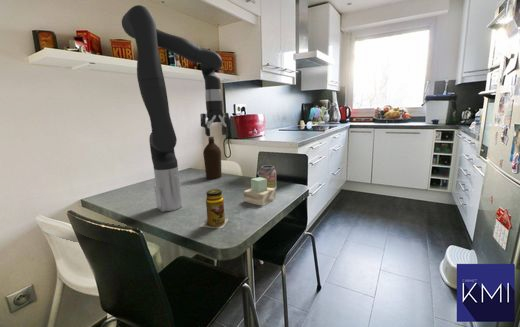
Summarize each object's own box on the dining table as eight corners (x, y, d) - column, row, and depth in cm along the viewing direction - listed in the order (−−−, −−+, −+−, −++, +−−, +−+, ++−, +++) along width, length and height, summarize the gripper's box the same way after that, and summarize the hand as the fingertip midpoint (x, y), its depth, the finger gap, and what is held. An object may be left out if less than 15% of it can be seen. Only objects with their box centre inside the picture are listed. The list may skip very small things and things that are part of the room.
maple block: (262, 206, 103) (262, 194, 102) (244, 202, 109) (243, 191, 108) (275, 199, 111) (275, 188, 110) (257, 195, 117) (257, 185, 116)
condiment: (222, 228, 84) (220, 194, 81) (198, 227, 85) (195, 194, 83) (228, 219, 91) (226, 188, 88) (206, 218, 92) (204, 187, 90)
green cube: (258, 192, 106) (258, 181, 105) (251, 190, 109) (250, 179, 108) (267, 190, 109) (266, 179, 108) (260, 187, 112) (259, 177, 111)
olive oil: (220, 179, 148) (217, 137, 143) (203, 179, 149) (199, 137, 144) (224, 175, 158) (221, 135, 153) (208, 175, 159) (205, 136, 154)
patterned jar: (264, 194, 118) (263, 169, 115) (255, 190, 124) (254, 166, 122) (279, 190, 122) (279, 166, 120) (270, 186, 129) (269, 164, 127)
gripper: (204, 99, 107) (207, 137, 110) (231, 99, 116) (233, 134, 119) (196, 100, 112) (198, 136, 116) (222, 100, 122) (224, 134, 125)
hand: (216, 135), depth 117 cm, fingers open, 8 cm apart
